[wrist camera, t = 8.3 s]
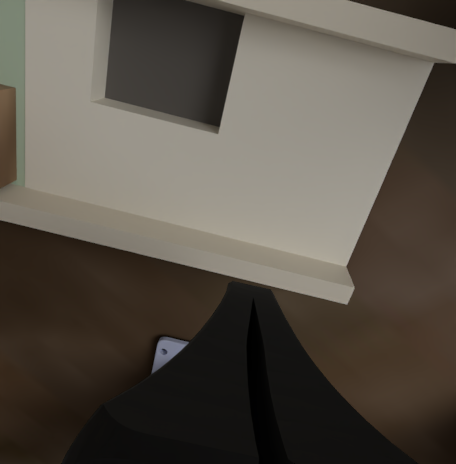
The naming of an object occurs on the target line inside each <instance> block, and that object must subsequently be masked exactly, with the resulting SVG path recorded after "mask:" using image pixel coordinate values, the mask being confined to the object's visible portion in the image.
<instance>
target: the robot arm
mask: <svg viewBox="0 0 456 464" xmlns="http://www.w3.org/2000/svg"><path fill="white" fill-rule="evenodd" d="M162 349H165V350H167V351H164V350H162ZM61 464H418V463H417V462H416V461H414V460H413V459H412V458H410V457H409V456H408V455H407V454H405V453H404V452H403V451H401V450H400V449H399V448H398V447H396V446H395V445H394V444H392V443H391V442H390V441H389V440H388V439H387V438H385V437H384V436H383V435H382V434H381V433H380V432H379V431H378V430H376V429H375V428H374V427H373V426H372V425H371V424H370V423H369V422H367V421H366V420H365V419H364V418H363V417H362V416H361V415H360V414H359V413H358V412H357V411H356V410H355V409H354V408H353V407H352V406H351V405H350V404H349V403H348V402H347V401H346V400H345V399H344V398H343V397H342V396H341V395H340V393H339V392H338V391H337V390H336V389H335V388H334V387H333V386H332V385H331V383H330V382H329V381H328V380H327V379H326V377H325V376H324V375H323V374H322V372H321V371H320V370H319V369H318V368H317V366H316V365H315V364H314V362H313V361H312V360H311V358H310V357H309V355H308V354H307V353H306V351H305V350H304V348H303V347H302V345H301V343H300V342H299V340H298V339H297V337H296V335H295V334H294V332H293V330H292V329H291V327H290V325H289V323H288V322H287V320H286V318H285V316H284V314H283V312H282V310H281V308H280V306H279V304H278V302H277V300H276V298H275V296H274V294H273V292H272V291H271V290H270V289H266V288H261V287H257V286H252V285H248V284H243V283H239V282H234V281H232V282H230V283H228V287H227V291H226V293H225V295H224V297H223V299H222V301H221V303H220V304H219V306H218V307H217V309H216V310H215V312H214V313H213V315H212V316H211V318H210V319H209V320H208V321H207V323H206V324H205V325H204V326H203V328H202V329H201V330H200V331H199V332H198V333H197V335H196V336H195V337H194V338H193V339H192V340H191V341H190V342H186V341H182V340H178V339H174V338H170V337H161V338H160V339H159V341H158V343H157V348H156V353H155V358H154V363H153V368H152V373H151V375H149V376H148V377H147V378H145V379H144V380H142V381H141V382H139V383H138V384H136V385H135V386H133V387H132V388H130V389H128V390H127V391H125V392H123V393H121V394H119V395H118V396H116V397H114V398H112V399H111V400H109V401H107V402H105V403H103V404H101V405H100V407H99V408H98V409H97V410H96V412H95V413H94V414H93V415H92V417H91V418H90V419H89V420H88V422H87V423H86V424H85V426H84V427H83V428H82V430H81V431H80V433H79V434H78V436H77V437H76V439H75V440H74V442H73V443H72V445H71V447H70V448H69V450H68V451H67V453H66V455H65V457H64V459H63V461H62V463H61Z"/></svg>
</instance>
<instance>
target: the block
mask: <svg viewBox="0 0 456 464" xmlns="http://www.w3.org/2000/svg"><path fill="white" fill-rule="evenodd" d="M16 180H17V155H16V88H14V87H10V86H6V85H3V84H0V188H2V187H4V186H6V185H8V184H10V183H12V182H14V181H16Z"/></svg>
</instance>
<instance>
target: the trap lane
mask: <svg viewBox="0 0 456 464" xmlns="http://www.w3.org/2000/svg"><path fill="white" fill-rule="evenodd" d="M434 63H451V64H456V29H452V28H448V27H445V26H441V25H437V24H434V23H430V22H426V21H422V20H419V19H415V18H411V17H407V16H404V15H400V14H396V13H393V12H389V11H385V10H381V9H378V8H374V7H370V6H367V5H363V4H359V3H355V2H352V1H348V0H0V84H3V85H6V86H10V87H14V88H16V155H17V180H16V181H14V182H12V183H10V184H8V185H6V186H4V187H2V188H0V220H2V221H6V222H10V223H15V224H19V225H23V226H27V227H31V228H35V229H39V230H43V231H47V232H51V233H56V234H60V235H64V236H68V237H72V238H76V239H80V240H84V241H88V242H93V243H97V244H101V245H105V246H109V247H113V248H117V249H121V250H125V251H129V252H134V253H138V254H142V255H146V256H150V257H154V258H158V259H162V260H166V261H170V262H175V263H179V264H183V265H187V266H191V267H195V268H199V269H203V270H207V271H212V272H216V273H220V274H224V275H228V276H232V277H236V278H240V279H244V280H248V281H253V282H257V283H261V284H265V285H269V286H273V287H277V288H281V289H285V290H290V291H294V292H298V293H302V294H306V295H310V296H314V297H318V298H322V299H326V300H331V301H335V302H339V303H343V304H348V301H349V299H350V297H351V295H352V293H353V290H354V288H355V287H354V285H353V282H352V280H351V277H350V275H349V272H348V270H347V268H346V266H347V263H348V261H349V259H350V256H351V254H352V252H353V250H354V247H355V245H356V243H357V240H358V238H359V236H360V233H361V231H362V229H363V226H364V224H365V222H366V219H367V217H368V215H369V213H370V210H371V208H372V206H373V203H374V201H375V199H376V196H377V194H378V192H379V189H380V187H381V185H382V183H383V180H384V178H385V176H386V173H387V171H388V169H389V166H390V164H391V162H392V159H393V157H394V155H395V152H396V150H397V148H398V146H399V143H400V141H401V139H402V136H403V134H404V132H405V129H406V127H407V125H408V122H409V120H410V118H411V116H412V113H413V111H414V109H415V106H416V104H417V102H418V99H419V97H420V95H421V92H422V90H423V88H424V85H425V83H426V81H427V79H428V76H429V74H430V72H431V69H432V67H433V65H434Z"/></svg>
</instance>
